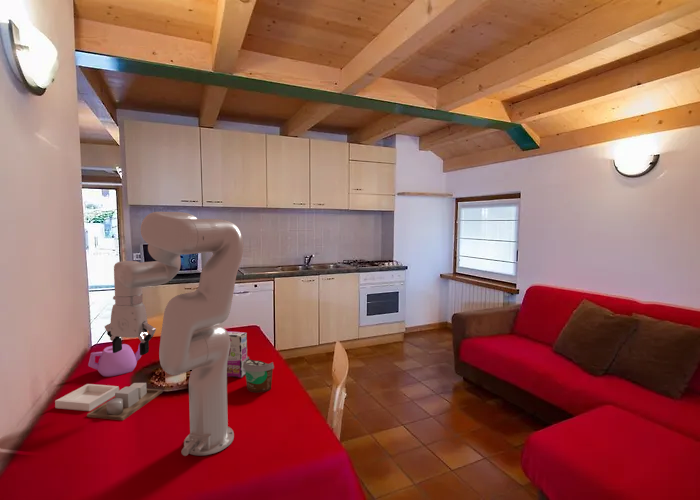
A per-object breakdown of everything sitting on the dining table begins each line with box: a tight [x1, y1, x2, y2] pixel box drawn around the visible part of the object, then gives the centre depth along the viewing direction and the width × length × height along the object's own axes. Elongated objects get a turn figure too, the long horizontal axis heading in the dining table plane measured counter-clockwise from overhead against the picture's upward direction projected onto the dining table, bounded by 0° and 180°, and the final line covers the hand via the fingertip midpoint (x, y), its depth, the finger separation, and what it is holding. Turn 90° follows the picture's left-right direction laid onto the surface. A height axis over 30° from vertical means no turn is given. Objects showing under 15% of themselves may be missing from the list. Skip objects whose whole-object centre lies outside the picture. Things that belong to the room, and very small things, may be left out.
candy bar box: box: [226, 330, 248, 379], centre depth 142 cm, size 11×5×16 cm, turn 76°
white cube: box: [128, 382, 148, 398], centre depth 123 cm, size 4×4×4 cm
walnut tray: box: [86, 388, 163, 421], centre depth 118 cm, size 18×12×1 cm, turn 172°
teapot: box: [87, 343, 142, 378], centre depth 144 cm, size 13×20×11 cm
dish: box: [54, 383, 120, 412], centre depth 120 cm, size 12×12×3 cm
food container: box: [243, 356, 275, 394], centre depth 129 cm, size 12×6×10 cm, turn 62°
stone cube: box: [114, 386, 139, 408], centre depth 118 cm, size 4×4×4 cm
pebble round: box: [105, 398, 123, 415], centre depth 112 cm, size 4×4×4 cm
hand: (130, 352), depth 118 cm, fingers open, 9 cm apart
